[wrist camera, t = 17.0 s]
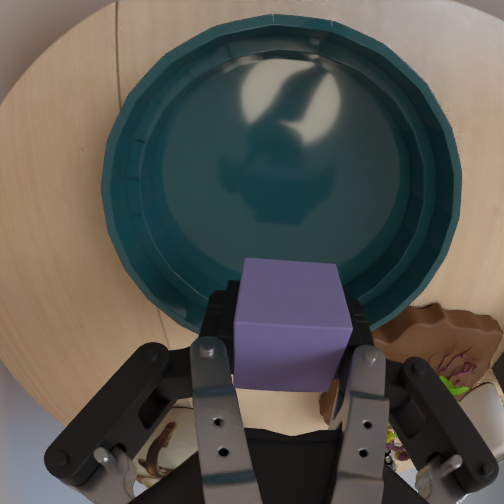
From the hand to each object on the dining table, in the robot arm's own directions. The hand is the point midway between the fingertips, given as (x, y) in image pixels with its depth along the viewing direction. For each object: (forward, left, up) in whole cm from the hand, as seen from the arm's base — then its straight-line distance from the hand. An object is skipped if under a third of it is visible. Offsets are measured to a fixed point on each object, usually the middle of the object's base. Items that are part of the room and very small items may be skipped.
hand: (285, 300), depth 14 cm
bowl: (-3, 0, -7) cm, 8 cm away
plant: (+15, +16, -7) cm, 23 cm away
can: (+23, +32, -7) cm, 40 cm away
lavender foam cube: (0, 0, 0) cm, 0 cm away
